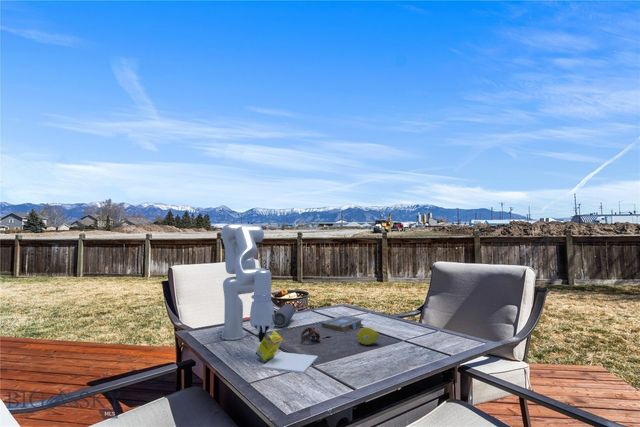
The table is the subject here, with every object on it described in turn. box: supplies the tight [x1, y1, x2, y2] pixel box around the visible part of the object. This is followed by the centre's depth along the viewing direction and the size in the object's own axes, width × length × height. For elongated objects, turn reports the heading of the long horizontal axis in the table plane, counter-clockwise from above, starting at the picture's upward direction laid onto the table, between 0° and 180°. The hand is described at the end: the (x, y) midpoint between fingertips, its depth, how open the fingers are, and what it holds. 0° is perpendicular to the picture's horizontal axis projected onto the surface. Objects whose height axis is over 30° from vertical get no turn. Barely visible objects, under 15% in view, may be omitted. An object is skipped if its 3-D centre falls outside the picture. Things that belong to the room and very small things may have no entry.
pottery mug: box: [300, 326, 322, 344], centre depth 176 cm, size 12×9×8 cm
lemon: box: [356, 327, 380, 346], centre depth 170 cm, size 11×8×8 cm
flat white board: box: [261, 351, 319, 374], centre depth 147 cm, size 18×18×1 cm
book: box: [319, 315, 365, 334], centre depth 202 cm, size 21×16×5 cm
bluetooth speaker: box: [274, 304, 295, 328], centre depth 210 cm, size 23×9×10 cm, turn 172°
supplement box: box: [255, 330, 284, 363], centre depth 149 cm, size 6×6×11 cm
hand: (262, 341), depth 151 cm, fingers closed
